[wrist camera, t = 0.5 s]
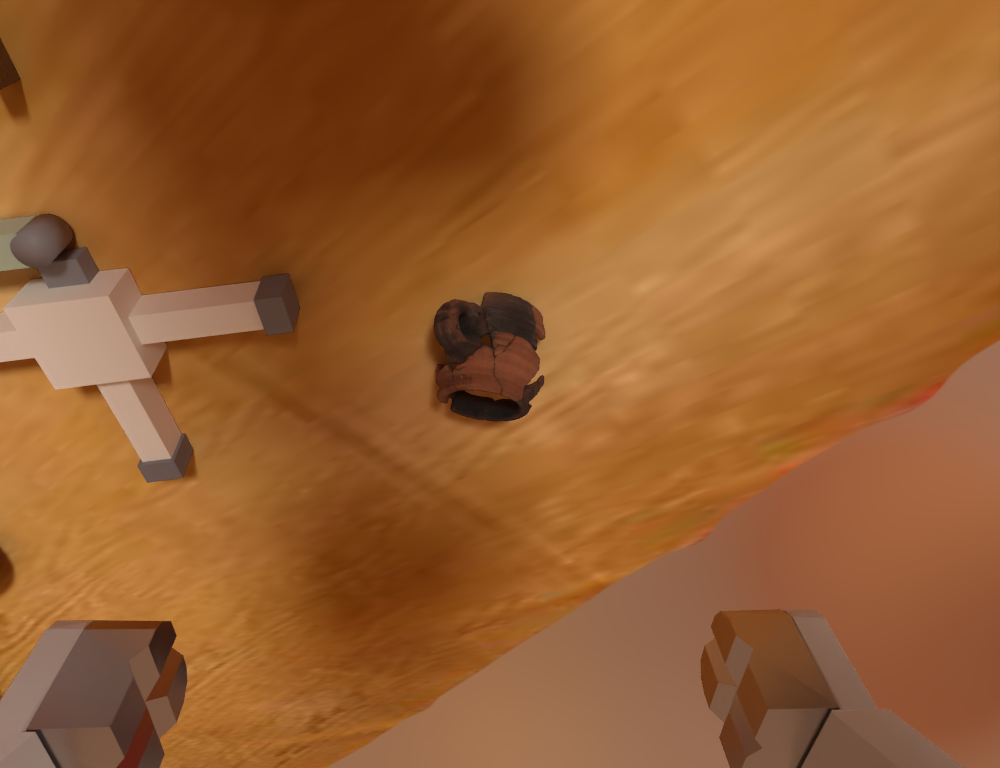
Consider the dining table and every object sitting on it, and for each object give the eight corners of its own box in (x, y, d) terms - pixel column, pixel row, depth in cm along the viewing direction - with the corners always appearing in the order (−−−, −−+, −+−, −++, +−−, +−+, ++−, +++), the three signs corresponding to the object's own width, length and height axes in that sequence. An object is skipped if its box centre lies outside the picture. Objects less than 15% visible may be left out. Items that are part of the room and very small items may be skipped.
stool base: (-145, 275, 45) (-187, 304, 42) (273, 225, 46) (263, 250, 43) (11, 473, 58) (-12, 508, 54) (339, 431, 58) (334, 462, 55)
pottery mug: (571, 329, 55) (562, 420, 52) (481, 348, 60) (468, 431, 57) (489, 251, 46) (472, 353, 43) (393, 281, 52) (371, 374, 48)
